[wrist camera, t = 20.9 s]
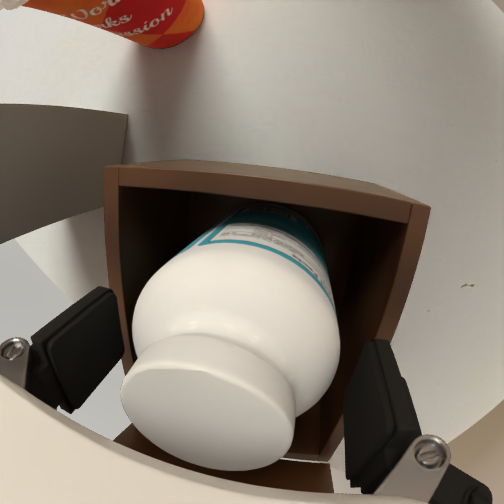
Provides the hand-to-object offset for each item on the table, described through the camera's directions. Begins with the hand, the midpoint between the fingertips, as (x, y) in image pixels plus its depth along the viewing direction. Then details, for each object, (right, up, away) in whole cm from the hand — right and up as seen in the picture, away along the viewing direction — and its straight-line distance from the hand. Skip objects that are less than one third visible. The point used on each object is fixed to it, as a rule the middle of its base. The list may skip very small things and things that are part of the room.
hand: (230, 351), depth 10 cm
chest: (+2, +1, +11) cm, 11 cm away
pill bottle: (+2, +3, +9) cm, 10 cm away
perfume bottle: (-12, +11, +10) cm, 19 cm away
